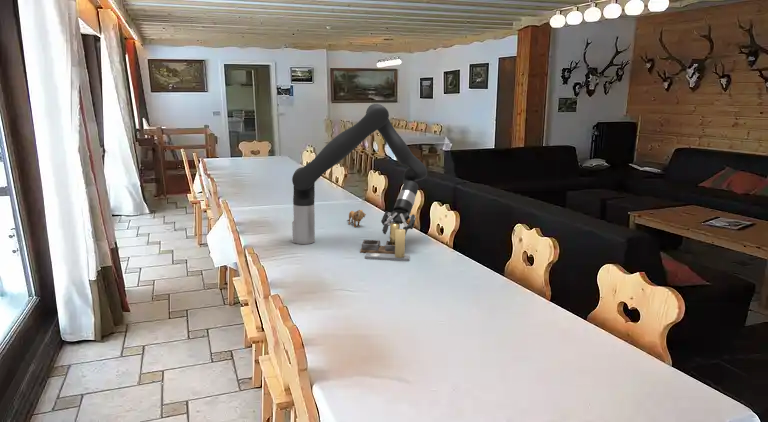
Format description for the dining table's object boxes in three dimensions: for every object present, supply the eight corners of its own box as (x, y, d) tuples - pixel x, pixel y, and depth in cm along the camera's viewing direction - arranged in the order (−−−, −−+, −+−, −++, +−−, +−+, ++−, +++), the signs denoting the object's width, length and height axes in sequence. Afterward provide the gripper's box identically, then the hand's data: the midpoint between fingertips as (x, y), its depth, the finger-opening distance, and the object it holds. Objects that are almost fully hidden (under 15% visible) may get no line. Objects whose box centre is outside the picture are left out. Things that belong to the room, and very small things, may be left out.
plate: (364, 258, 204) (365, 230, 202) (366, 255, 209) (366, 227, 207) (409, 261, 203) (410, 232, 200) (409, 257, 208) (410, 229, 205)
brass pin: (389, 250, 213) (389, 224, 211) (389, 247, 217) (390, 222, 215) (398, 250, 213) (399, 225, 210) (399, 247, 217) (400, 222, 214)
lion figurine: (367, 227, 253) (367, 210, 251) (358, 228, 250) (358, 211, 248) (350, 221, 265) (350, 204, 263) (342, 222, 261) (342, 205, 259)
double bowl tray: (360, 252, 212) (360, 244, 212) (362, 247, 220) (362, 239, 219) (402, 254, 211) (403, 246, 210) (404, 249, 219) (404, 241, 218)
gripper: (387, 196, 220) (375, 227, 212) (418, 199, 214) (406, 232, 206) (392, 205, 226) (380, 236, 218) (422, 209, 220) (411, 241, 212)
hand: (393, 234), depth 212 cm, fingers open, 8 cm apart
